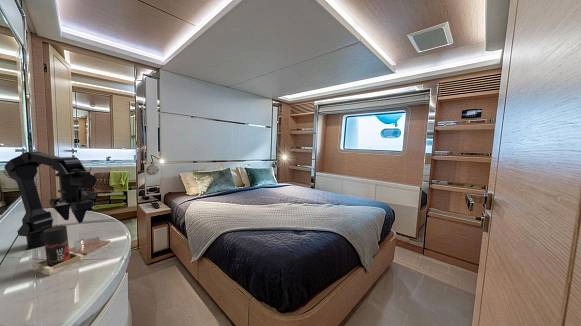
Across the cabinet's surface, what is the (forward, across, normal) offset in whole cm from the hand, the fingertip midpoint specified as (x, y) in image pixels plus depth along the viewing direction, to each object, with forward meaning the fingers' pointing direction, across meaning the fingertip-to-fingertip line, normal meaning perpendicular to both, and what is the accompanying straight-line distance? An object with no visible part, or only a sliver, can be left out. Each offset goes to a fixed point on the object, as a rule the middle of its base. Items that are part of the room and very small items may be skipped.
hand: (73, 221), depth 92 cm
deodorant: (+13, -9, +10) cm, 19 cm away
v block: (+13, -3, -3) cm, 14 cm away
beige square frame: (+13, -9, +10) cm, 18 cm away
